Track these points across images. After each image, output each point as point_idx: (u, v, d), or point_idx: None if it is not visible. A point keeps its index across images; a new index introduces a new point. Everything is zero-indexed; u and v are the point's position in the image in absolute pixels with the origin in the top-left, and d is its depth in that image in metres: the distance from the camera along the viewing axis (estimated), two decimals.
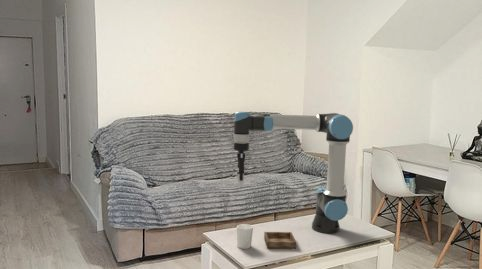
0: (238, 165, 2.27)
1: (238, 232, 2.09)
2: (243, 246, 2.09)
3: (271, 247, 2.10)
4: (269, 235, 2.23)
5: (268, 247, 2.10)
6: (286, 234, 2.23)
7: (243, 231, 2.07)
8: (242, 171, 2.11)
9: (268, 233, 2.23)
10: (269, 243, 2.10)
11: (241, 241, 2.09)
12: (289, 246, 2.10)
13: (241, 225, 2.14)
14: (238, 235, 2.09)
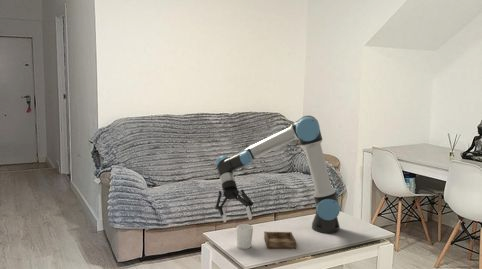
0: None
1: (238, 232, 2.09)
2: (243, 246, 2.09)
3: (271, 247, 2.10)
4: (269, 235, 2.23)
5: (268, 247, 2.10)
6: (286, 234, 2.23)
7: (243, 231, 2.07)
8: (216, 206, 2.17)
9: (268, 233, 2.23)
10: (269, 243, 2.10)
11: (241, 241, 2.09)
12: (289, 246, 2.10)
13: (241, 225, 2.14)
14: (238, 235, 2.09)
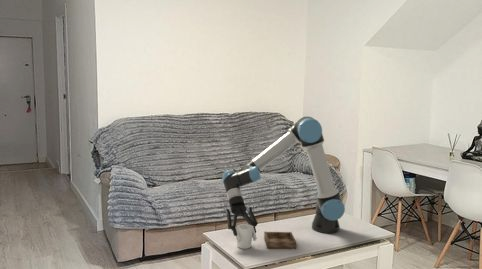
0: (249, 224, 2.16)
1: None
2: (243, 245, 2.09)
3: (271, 247, 2.10)
4: (269, 235, 2.23)
5: (268, 247, 2.10)
6: (286, 234, 2.23)
7: (243, 231, 2.07)
8: (229, 225, 2.10)
9: (268, 233, 2.23)
10: (269, 243, 2.10)
11: (241, 241, 2.09)
12: (289, 246, 2.10)
13: (241, 225, 2.14)
14: None
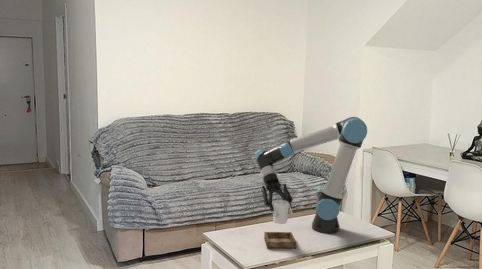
0: (284, 200, 2.19)
1: (275, 207, 2.13)
2: (280, 221, 2.12)
3: (271, 247, 2.10)
4: (269, 235, 2.23)
5: (268, 247, 2.10)
6: (286, 234, 2.23)
7: (280, 207, 2.11)
8: (265, 201, 2.13)
9: (268, 233, 2.23)
10: (269, 243, 2.10)
11: (278, 216, 2.12)
12: (289, 246, 2.10)
13: (277, 201, 2.18)
14: None
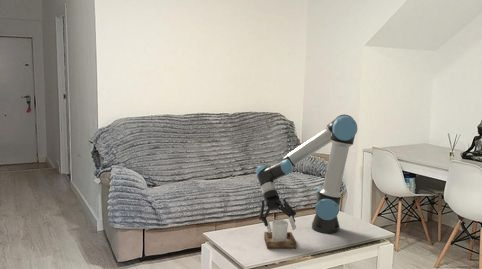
0: (287, 215, 2.22)
1: (274, 228, 2.14)
2: None
3: (271, 247, 2.10)
4: (269, 235, 2.23)
5: (268, 247, 2.10)
6: None
7: (279, 227, 2.12)
8: (260, 216, 2.15)
9: (268, 233, 2.23)
10: (269, 243, 2.10)
11: (277, 236, 2.14)
12: (289, 246, 2.10)
13: (276, 221, 2.19)
14: (274, 230, 2.14)
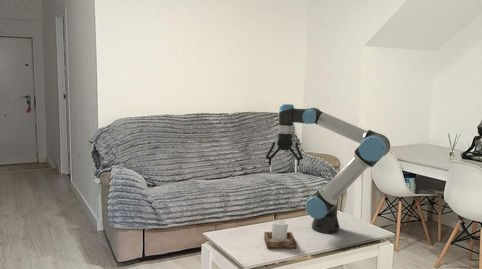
0: None
1: (274, 228, 2.14)
2: None
3: (271, 247, 2.10)
4: (269, 235, 2.23)
5: (268, 247, 2.10)
6: None
7: (279, 227, 2.12)
8: (266, 156, 2.34)
9: (268, 233, 2.23)
10: (269, 243, 2.10)
11: (277, 236, 2.14)
12: (289, 246, 2.10)
13: (276, 221, 2.19)
14: (274, 231, 2.14)
